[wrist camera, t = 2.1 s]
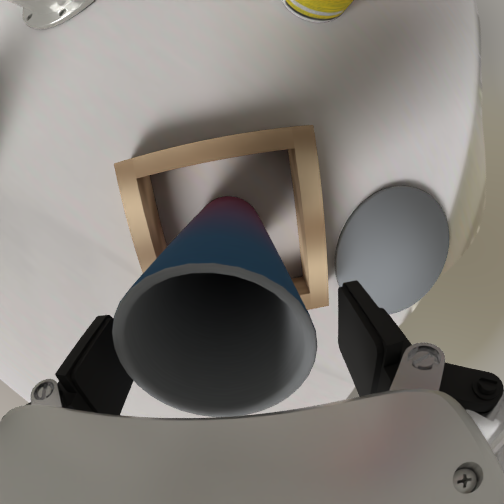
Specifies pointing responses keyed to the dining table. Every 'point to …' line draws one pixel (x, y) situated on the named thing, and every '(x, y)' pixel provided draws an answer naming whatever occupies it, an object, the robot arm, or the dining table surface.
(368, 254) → the disc
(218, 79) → the dining table surface
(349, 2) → the supplement bottle
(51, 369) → the dining table surface
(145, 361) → the cup
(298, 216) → the socket
